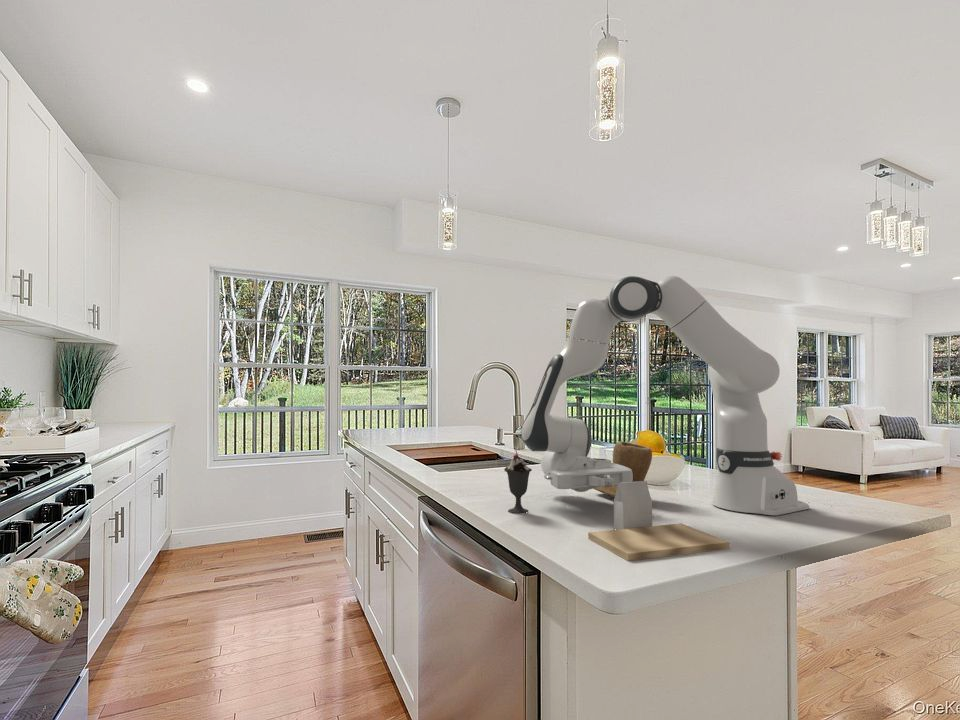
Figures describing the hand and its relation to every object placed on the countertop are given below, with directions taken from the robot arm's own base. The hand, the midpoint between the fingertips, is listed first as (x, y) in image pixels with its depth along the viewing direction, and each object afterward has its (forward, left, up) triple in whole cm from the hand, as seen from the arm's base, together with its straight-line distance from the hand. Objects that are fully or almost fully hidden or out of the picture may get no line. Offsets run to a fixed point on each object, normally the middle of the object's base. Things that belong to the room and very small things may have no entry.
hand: (608, 483), depth 118 cm
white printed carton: (0, +10, -8) cm, 13 cm away
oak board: (+1, +19, -8) cm, 20 cm away
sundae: (+17, -12, -8) cm, 23 cm away
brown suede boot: (-16, -18, -8) cm, 25 cm away
